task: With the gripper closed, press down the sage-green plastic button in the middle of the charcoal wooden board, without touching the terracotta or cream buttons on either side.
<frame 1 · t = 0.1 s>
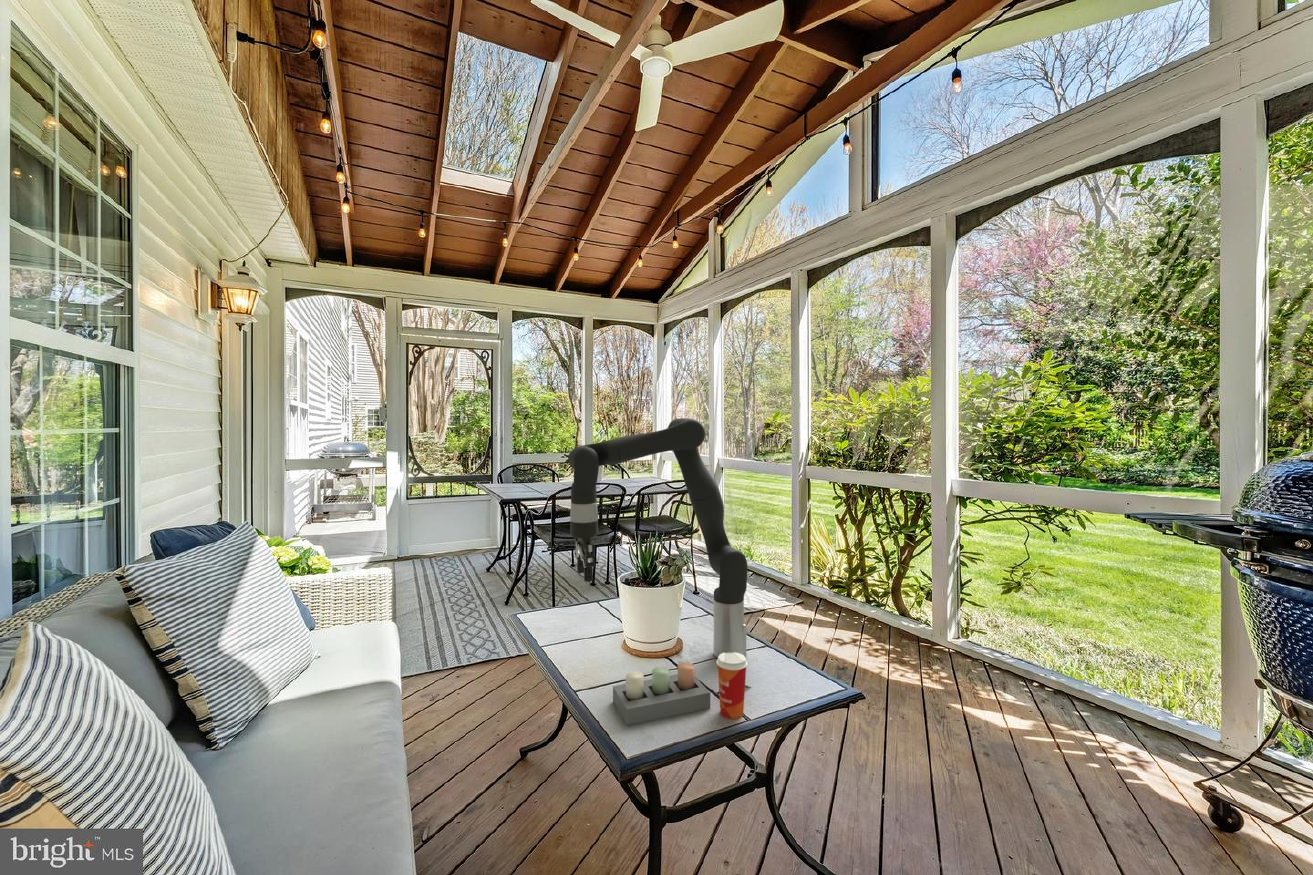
hand: (584, 576, 154), 29 cm above the table, fingers open, 8 cm apart
button board: (661, 704, 142), on the table
sage button: (660, 680, 142), point 6 cm above the table, slide at 0.0 cm
cream button: (634, 685, 139), point 6 cm above the table, slide at 0.0 cm
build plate: (734, 692, 150), on the table
terracotta button: (686, 675, 144), point 6 cm above the table, slide at 0.0 cm
paper cup: (731, 713, 138), on the table
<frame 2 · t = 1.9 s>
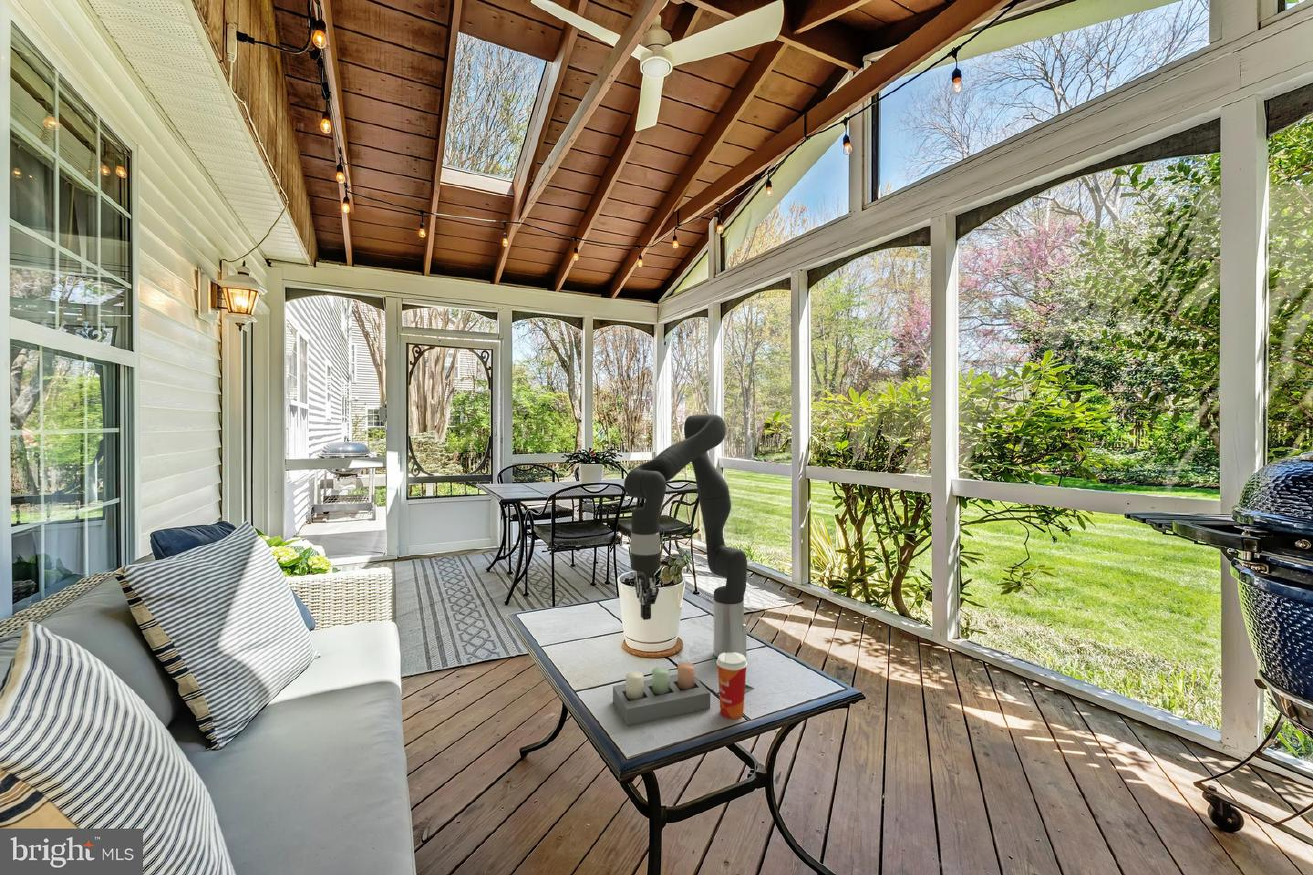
hand: (645, 618, 140), 23 cm above the table, fingers closed
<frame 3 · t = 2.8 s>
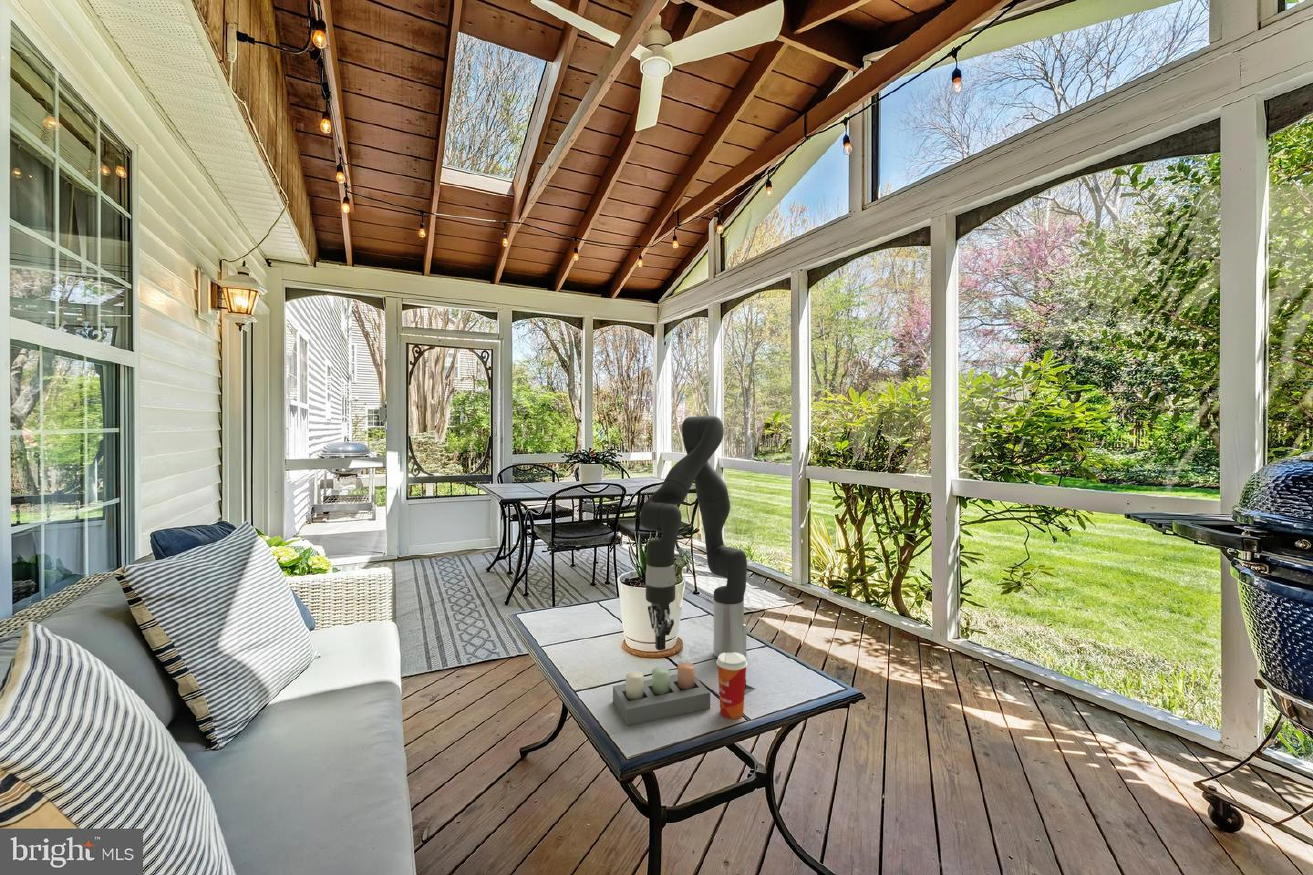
hand: (660, 648, 142), 15 cm above the table, fingers closed
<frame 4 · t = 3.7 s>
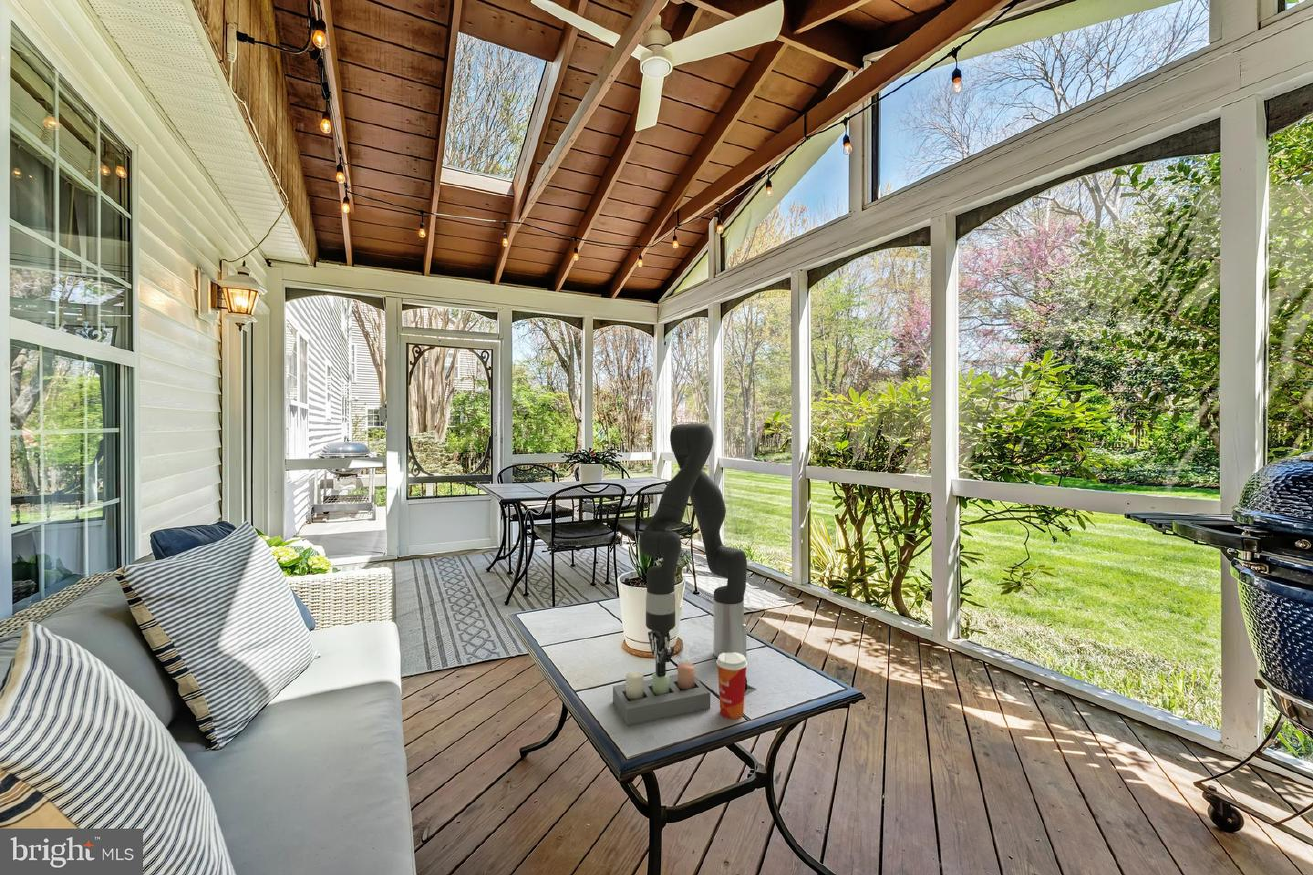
hand: (660, 675, 142), 8 cm above the table, fingers closed
sage button: (660, 684, 142), point 5 cm above the table, slide at 1.1 cm, touching gripper
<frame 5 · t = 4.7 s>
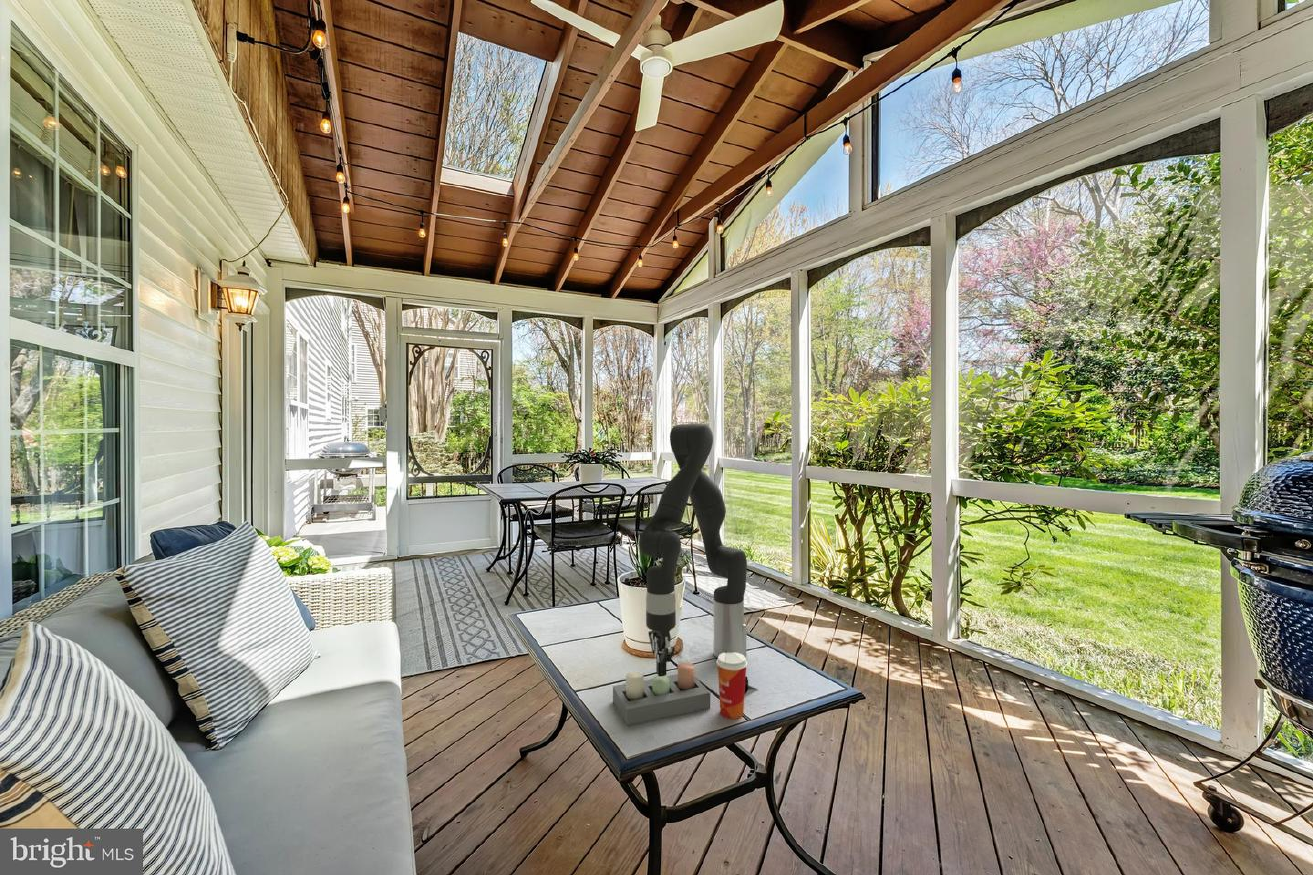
hand: (661, 674, 142), 8 cm above the table, fingers closed
sage button: (660, 689, 142), point 4 cm above the table, slide at 2.3 cm
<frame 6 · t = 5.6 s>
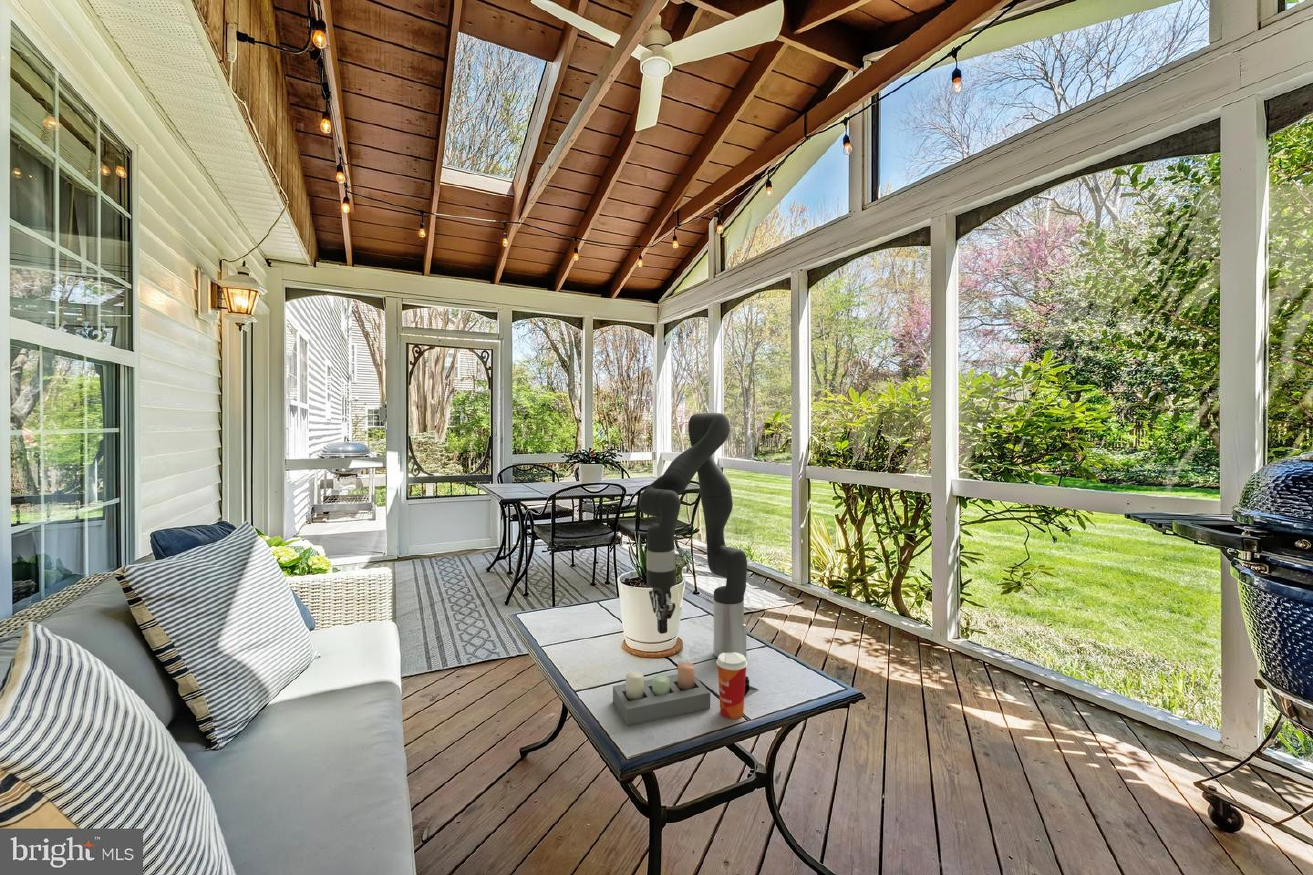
hand: (662, 632, 144), 18 cm above the table, fingers closed
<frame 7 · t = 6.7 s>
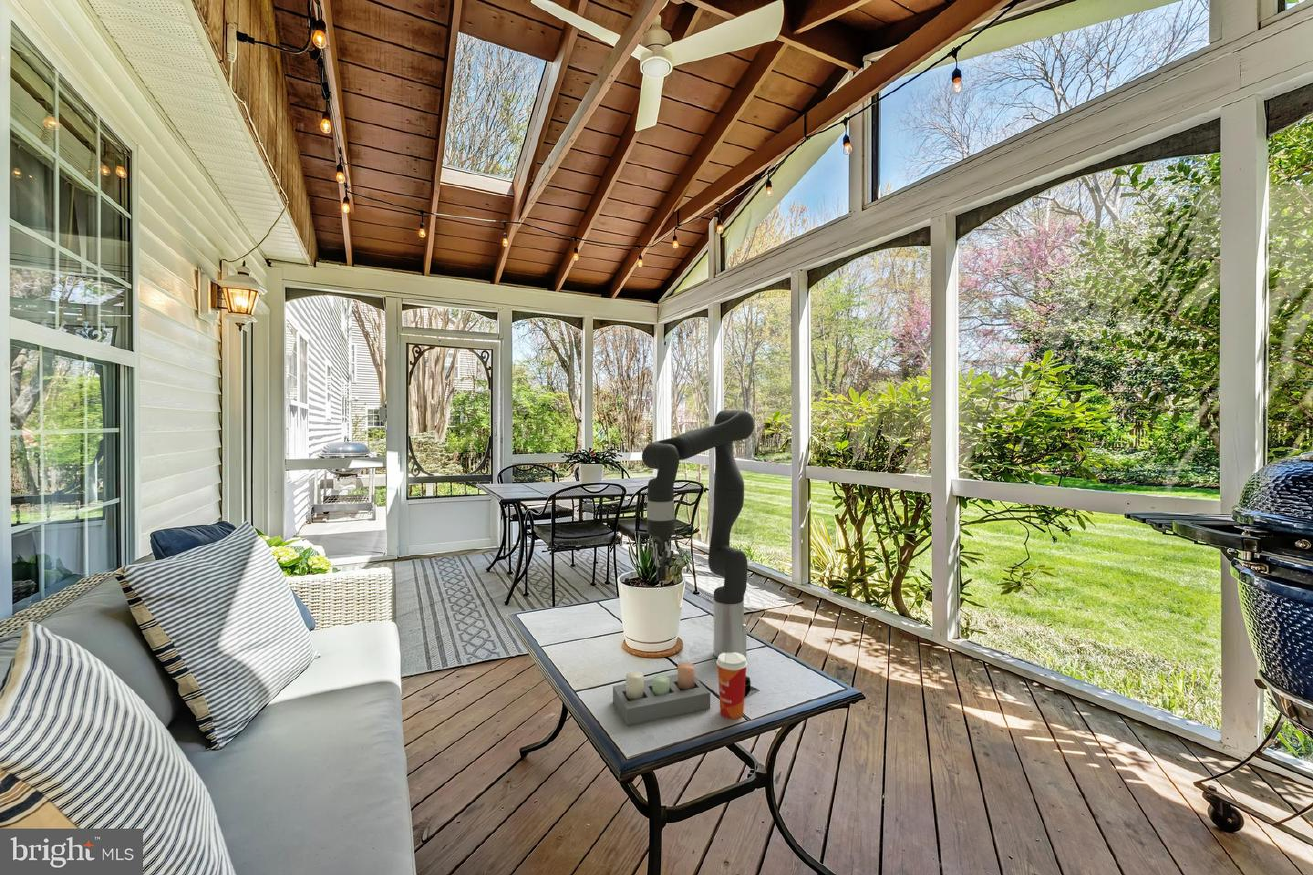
hand: (661, 579, 152), 29 cm above the table, fingers closed
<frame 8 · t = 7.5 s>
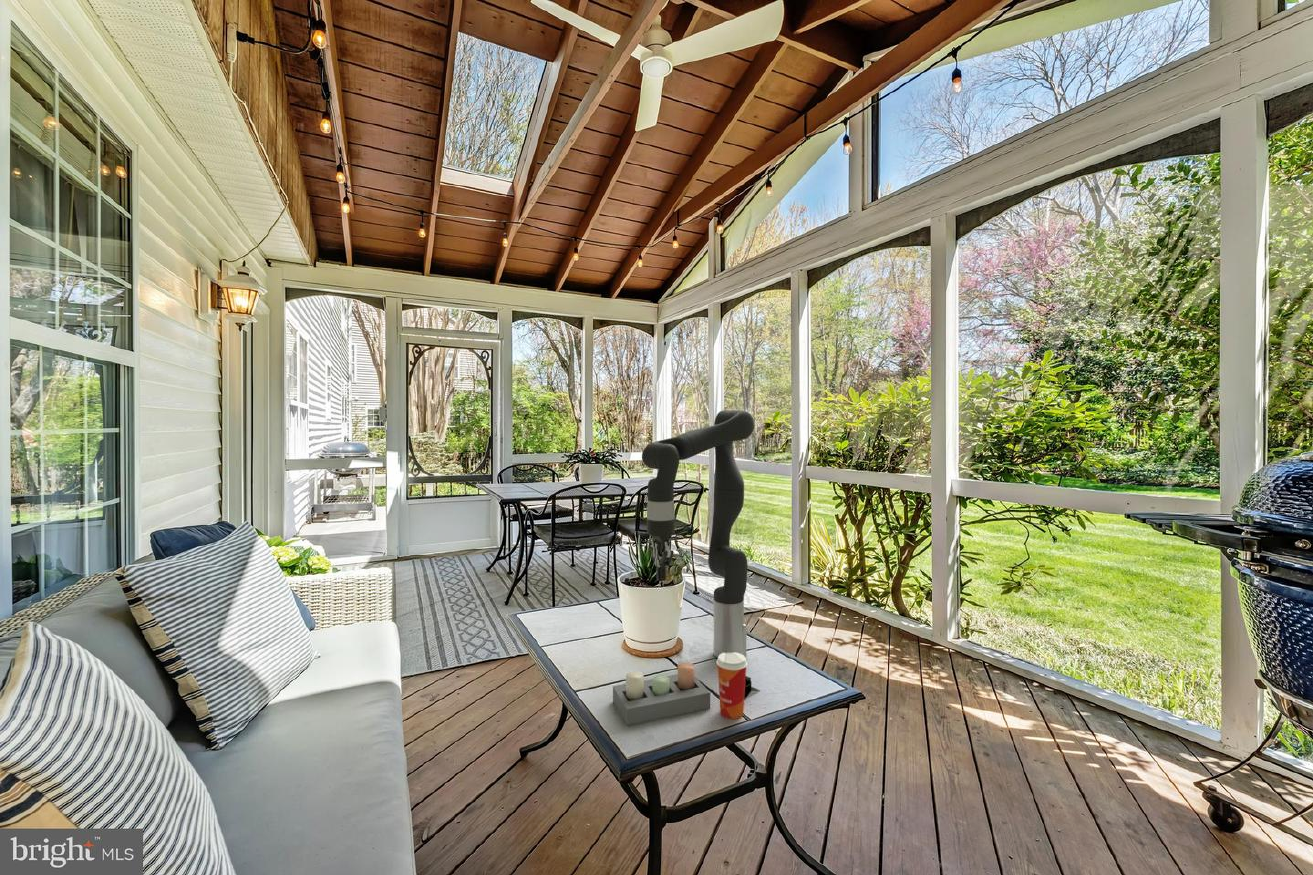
hand: (661, 579, 152), 29 cm above the table, fingers closed
at the end: sage button slide at 2.3 cm; terracotta button slide at 0.0 cm; cream button slide at 0.0 cm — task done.
